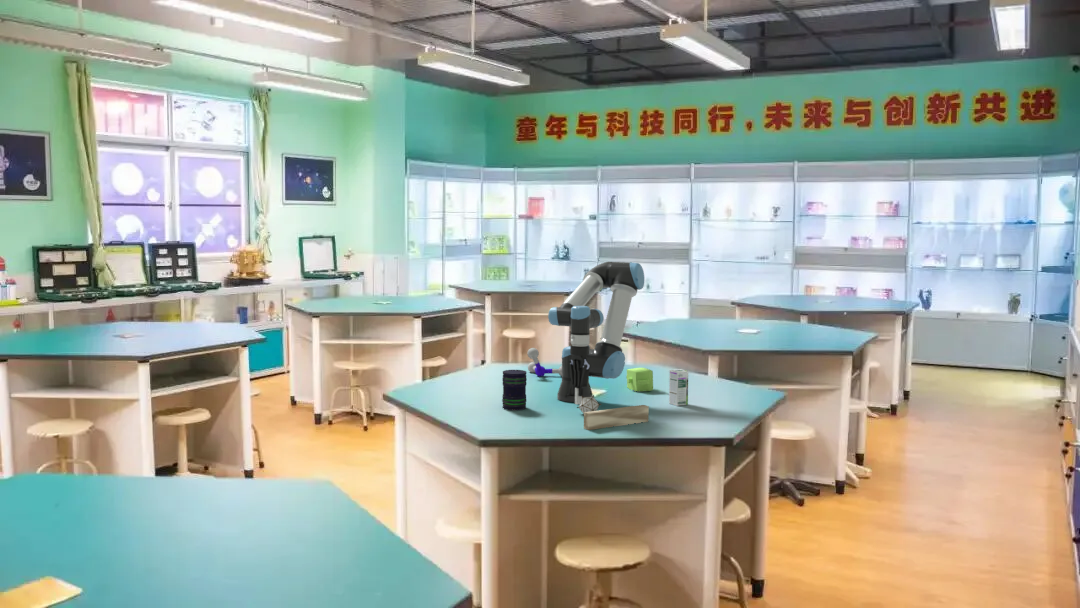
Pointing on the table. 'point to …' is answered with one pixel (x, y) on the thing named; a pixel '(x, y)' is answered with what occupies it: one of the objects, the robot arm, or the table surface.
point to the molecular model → (536, 367)
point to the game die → (588, 404)
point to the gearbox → (640, 379)
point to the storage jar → (514, 389)
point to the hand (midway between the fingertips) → (578, 403)
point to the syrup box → (678, 387)
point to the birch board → (615, 417)
